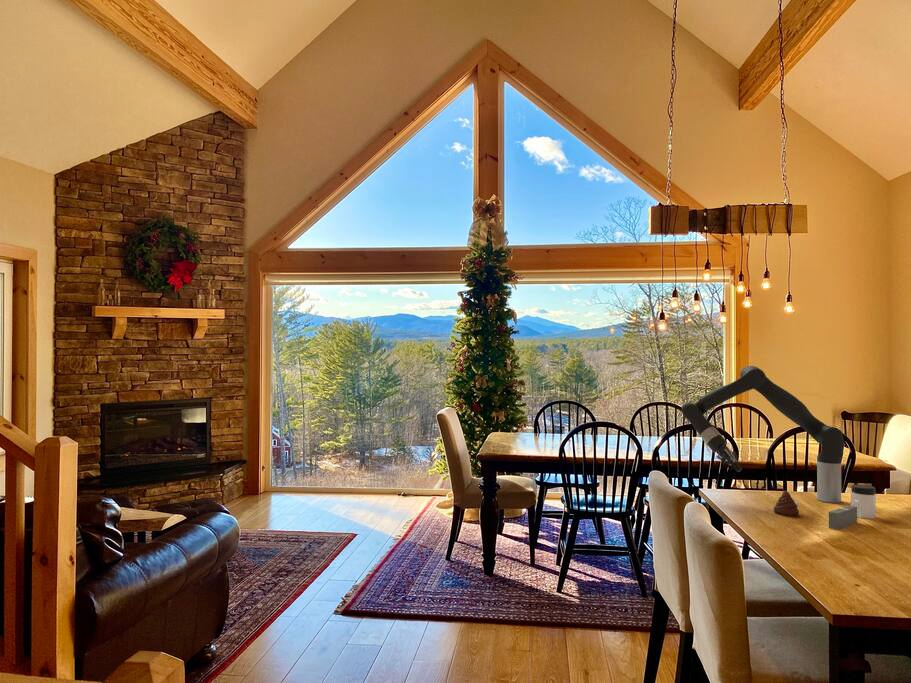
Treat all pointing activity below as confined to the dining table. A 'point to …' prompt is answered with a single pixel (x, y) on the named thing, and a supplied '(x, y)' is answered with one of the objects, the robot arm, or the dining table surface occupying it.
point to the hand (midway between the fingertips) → (739, 470)
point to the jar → (864, 500)
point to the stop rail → (842, 517)
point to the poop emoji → (786, 505)
